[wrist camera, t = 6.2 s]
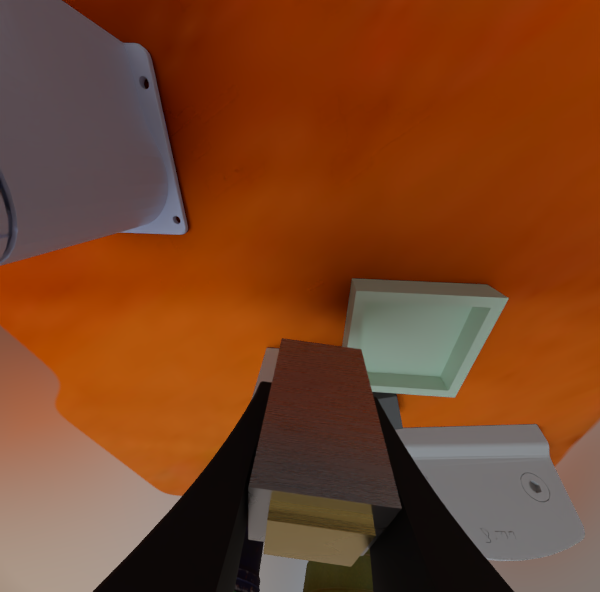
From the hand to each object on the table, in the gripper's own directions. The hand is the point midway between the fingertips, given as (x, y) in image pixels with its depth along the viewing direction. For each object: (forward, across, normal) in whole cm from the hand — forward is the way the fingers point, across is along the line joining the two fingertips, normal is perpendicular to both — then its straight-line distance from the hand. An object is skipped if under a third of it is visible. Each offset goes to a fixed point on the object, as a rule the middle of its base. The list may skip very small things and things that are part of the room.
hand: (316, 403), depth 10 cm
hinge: (+10, -19, +17) cm, 27 cm away
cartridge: (+2, 0, 0) cm, 2 cm away
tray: (+9, -8, +2) cm, 12 cm away
